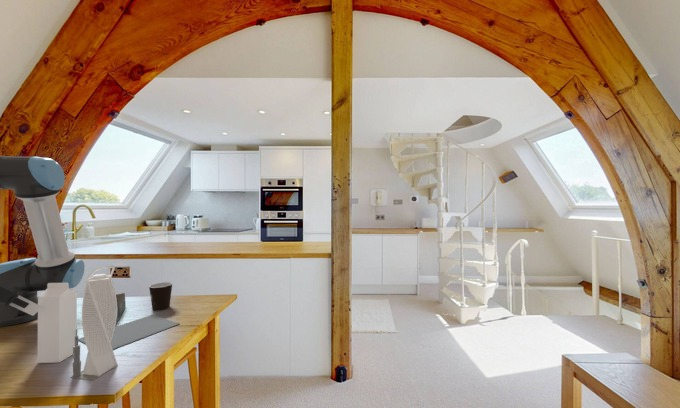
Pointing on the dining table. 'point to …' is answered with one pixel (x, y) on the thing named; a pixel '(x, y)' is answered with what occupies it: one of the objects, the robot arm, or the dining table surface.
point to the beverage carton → (120, 305)
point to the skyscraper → (97, 327)
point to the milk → (56, 323)
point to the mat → (138, 330)
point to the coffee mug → (160, 295)
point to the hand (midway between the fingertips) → (36, 310)
